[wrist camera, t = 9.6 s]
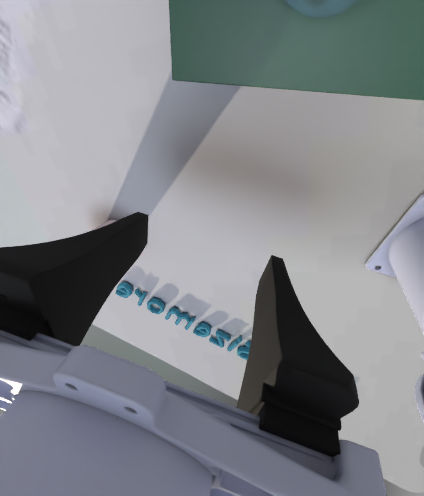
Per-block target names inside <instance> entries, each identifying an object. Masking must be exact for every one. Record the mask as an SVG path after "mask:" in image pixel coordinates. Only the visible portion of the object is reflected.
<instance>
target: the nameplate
mask: <svg viewBox="0 0 424 496" xmlns="http://www.w3.org/2000/svg"><path fill="white" fill-rule="evenodd" d="M115 294H117V295H119V296H121V297H125V298H127V297H128V296H130V295H131V294H132V287H131V286H130V285H129V284H128V283H125V282H122V283H120V284H119V285H118V287H117V290H116V293H115ZM135 294H136V295H137V296H138V297H139V298H140V299H139V302H138V305H139V306H140V305H142V302H143V300H144V298H145V295H146V292H143V293H142V292H141V291H140V290H139V289H138V288H137V289H136V290H135ZM152 303H153V304H157V305H158V306H159V307H160V309H158V308H155V307H154V306H152ZM147 307H148V309H149V310H150V311H151V312H152V313H155V314H160V313H161V312H163V311H164V303H163V302H162V301H161V300H160V299H156V298H152V299H151V300H149V301H148V303H147ZM171 314H176V316H177V317H178V318H177V320H176V322H175V324H176V325H178V324H179V322H180V321H181V319H186V320H187V322H188V324H187V325H186V326H185V329H186V330H188V328H189V327H190V326H191V324H192V323H193V322H194V320H195V317H192V318H191V317H190V316H189V315H188V314H187V313H181V312H180V311H179V310H178V309H177V308H174V307H173V308H171V309H170V310H169V312H168V313H167V315H166V317H165V319H166V320H168V319H169V317H170V316H171ZM210 331H211V327H210V326H209V325H208V324H207V323H200V324H198V325H197V327H196V328H195V329H194V330H193V333H194V334H196V335H198V336H201V337H206V336H209V334H210ZM216 336H217V338H218V339H216V338H214V337H212V336H211V337H210V339H209V341H210V342H212V343H214V344H216V345H218V346H220V347H223V346H224V341H223V338H224V339H226V340H227V341H229V340H230V339H231V336H230V335H228V334H226V333H224V332H222V331H220V330H217V331H216ZM241 341H242V337H241V336H239V337H238V339H236V340H235V341H234V342H233V343H231V344H230V345H229V346H228V348H227V349H228V351H231V350H232V349H233V348H234V347H236V346H237V345H238V343H240V342H241ZM250 345H251V342H250V341H248V342H247V343H246V346H247V347H243V346H241V347H238V349H237V355H239V356H240V357H241V358H243V359H246V360H247V359H248V355H249V350H250ZM246 353H248V354H246Z"/></svg>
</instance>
